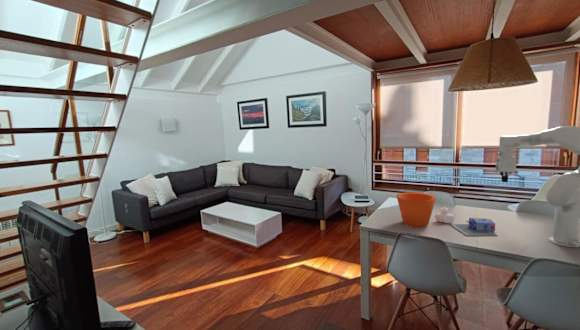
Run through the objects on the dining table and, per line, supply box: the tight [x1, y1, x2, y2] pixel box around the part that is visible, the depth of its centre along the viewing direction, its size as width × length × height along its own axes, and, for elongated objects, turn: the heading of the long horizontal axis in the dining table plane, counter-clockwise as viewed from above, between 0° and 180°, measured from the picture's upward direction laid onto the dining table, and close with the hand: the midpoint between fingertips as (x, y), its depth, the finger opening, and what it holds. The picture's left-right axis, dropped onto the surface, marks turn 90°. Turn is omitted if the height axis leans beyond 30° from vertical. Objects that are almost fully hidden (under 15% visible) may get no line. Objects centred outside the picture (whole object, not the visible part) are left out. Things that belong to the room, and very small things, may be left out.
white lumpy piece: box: [434, 206, 455, 224], centre depth 195 cm, size 12×8×11 cm
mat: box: [449, 223, 498, 237], centre depth 177 cm, size 20×18×1 cm
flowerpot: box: [396, 191, 437, 228], centre depth 192 cm, size 25×25×20 cm
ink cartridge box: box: [466, 217, 496, 232], centre depth 179 cm, size 10×6×14 cm
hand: (504, 181), depth 182 cm, fingers closed
